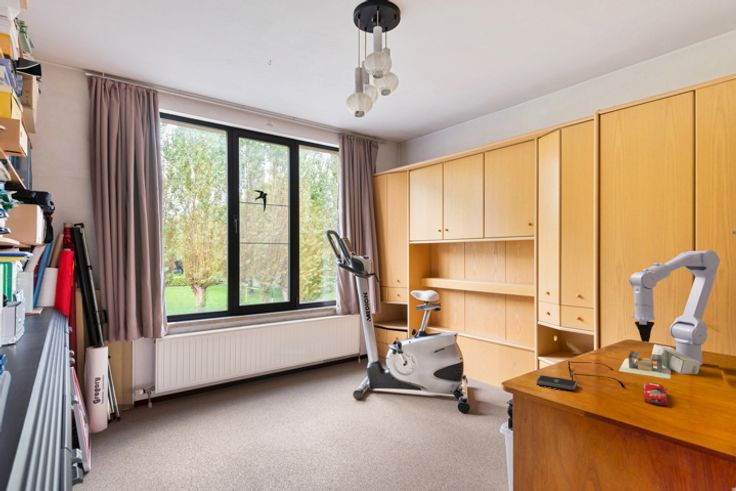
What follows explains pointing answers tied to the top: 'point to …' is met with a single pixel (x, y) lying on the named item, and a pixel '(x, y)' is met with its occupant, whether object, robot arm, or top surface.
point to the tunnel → (654, 358)
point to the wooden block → (645, 364)
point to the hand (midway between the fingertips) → (645, 341)
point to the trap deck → (664, 373)
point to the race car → (655, 394)
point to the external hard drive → (557, 383)
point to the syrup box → (676, 360)
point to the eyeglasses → (590, 375)
